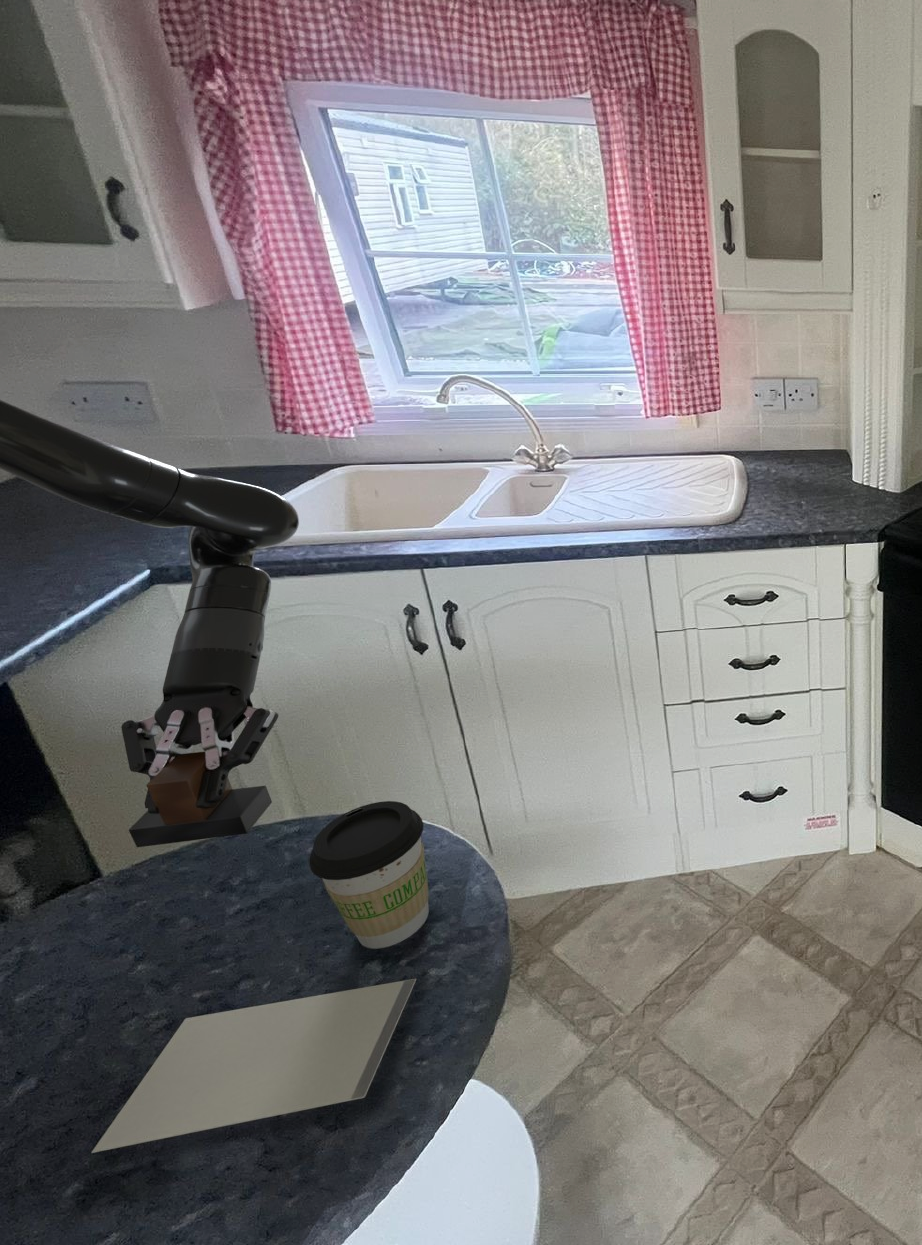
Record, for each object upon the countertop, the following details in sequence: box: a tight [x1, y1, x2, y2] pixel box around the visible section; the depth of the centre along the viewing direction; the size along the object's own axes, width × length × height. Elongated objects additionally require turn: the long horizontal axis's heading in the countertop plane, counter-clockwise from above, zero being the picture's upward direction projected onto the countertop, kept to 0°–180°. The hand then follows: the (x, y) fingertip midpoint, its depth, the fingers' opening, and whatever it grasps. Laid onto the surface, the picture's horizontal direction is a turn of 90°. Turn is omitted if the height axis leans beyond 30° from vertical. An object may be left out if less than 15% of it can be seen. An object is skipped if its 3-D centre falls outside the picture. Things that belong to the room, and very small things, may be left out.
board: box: [90, 978, 417, 1154], centre depth 73 cm, size 20×12×2 cm, turn 104°
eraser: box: [128, 751, 273, 848], centre depth 84 cm, size 10×5×8 cm, turn 104°
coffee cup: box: [309, 800, 430, 950], centre depth 84 cm, size 10×10×15 cm
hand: (182, 809), depth 82 cm, fingers closed on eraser, 3 cm apart
